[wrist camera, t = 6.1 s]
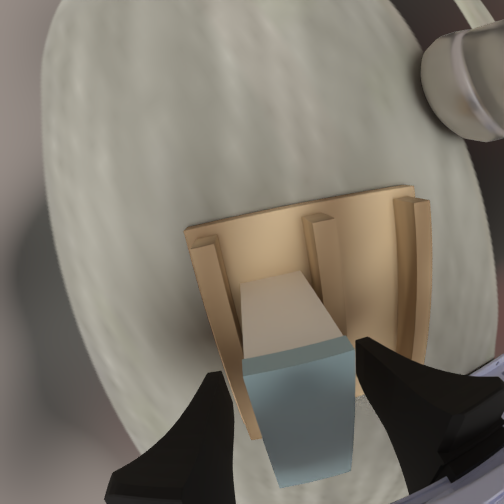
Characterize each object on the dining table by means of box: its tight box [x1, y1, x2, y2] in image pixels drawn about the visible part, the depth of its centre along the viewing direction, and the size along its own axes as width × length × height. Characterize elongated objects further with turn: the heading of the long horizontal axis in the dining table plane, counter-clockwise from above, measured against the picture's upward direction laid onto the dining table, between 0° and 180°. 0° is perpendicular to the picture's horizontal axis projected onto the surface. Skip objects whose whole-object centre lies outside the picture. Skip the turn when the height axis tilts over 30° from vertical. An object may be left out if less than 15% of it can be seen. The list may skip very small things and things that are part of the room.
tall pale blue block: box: [240, 271, 355, 488], centre depth 11 cm, size 3×7×7 cm, turn 11°
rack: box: [184, 185, 432, 440], centre depth 14 cm, size 12×13×3 cm
